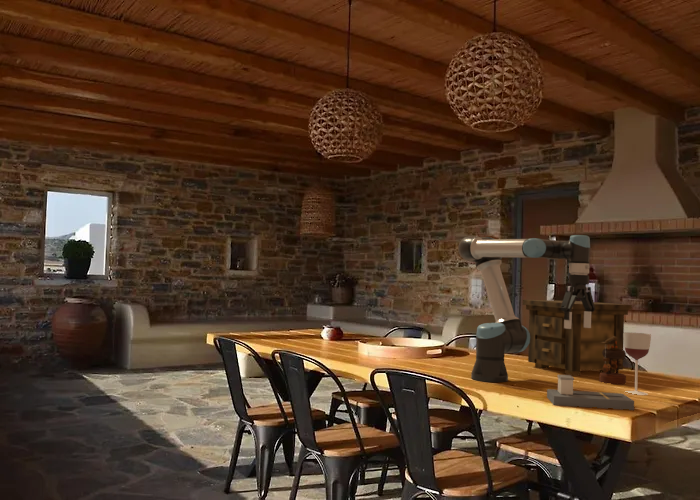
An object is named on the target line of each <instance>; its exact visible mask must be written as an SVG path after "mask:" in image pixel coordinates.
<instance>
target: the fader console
mask: <svg viewBox="0 0 700 500" xmlns="http://www.w3.org/2000/svg"><path fill="white" fill-rule="evenodd" d="M546 389H547V388H546ZM546 398H547V399H548V401H550V402H551V404H552V406H560V407H561V406H563V407H564V406H565V407H577V406H579V408H592V407H597V408H596V409H608V408H613V409H612V410H623V409H629V410H628V411H634V410H635V400H633V399H632V398H630V397H628V396H627V395H625V394H624V393H621V392H620V393H618V392H603V391H602V392H601V391H585V390H573V395H569V394H560V393H559V392H558V389H555V388H554V389H552V388H551V389H550V388H548V389H547V390H546Z"/></svg>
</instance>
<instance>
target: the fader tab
mask: <svg viewBox="0 0 700 500" xmlns="http://www.w3.org/2000/svg"><path fill="white" fill-rule="evenodd" d="M574 381H575V378H574V377H573V375H568V374H557V390H558V392H559V393H560V394H569V395H573V391H574Z"/></svg>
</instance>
